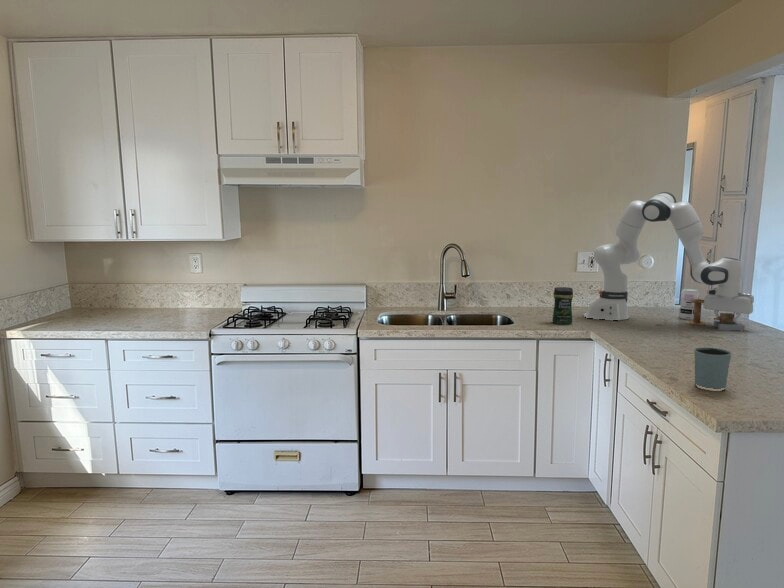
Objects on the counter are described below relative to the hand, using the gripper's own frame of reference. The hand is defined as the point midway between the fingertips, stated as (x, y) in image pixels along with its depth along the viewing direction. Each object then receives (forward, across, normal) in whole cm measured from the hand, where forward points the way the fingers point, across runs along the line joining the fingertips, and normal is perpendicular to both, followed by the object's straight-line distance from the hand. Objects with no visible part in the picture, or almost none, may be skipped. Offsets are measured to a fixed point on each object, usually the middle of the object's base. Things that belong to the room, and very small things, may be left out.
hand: (726, 320), depth 254 cm
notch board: (+4, -1, -1) cm, 4 cm away
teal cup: (+4, -30, +96) cm, 101 cm away
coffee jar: (+4, +59, +45) cm, 74 cm away
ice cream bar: (+2, +1, +1) cm, 2 cm away
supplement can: (+4, +22, -11) cm, 25 cm away
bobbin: (+4, +13, 0) cm, 14 cm away
